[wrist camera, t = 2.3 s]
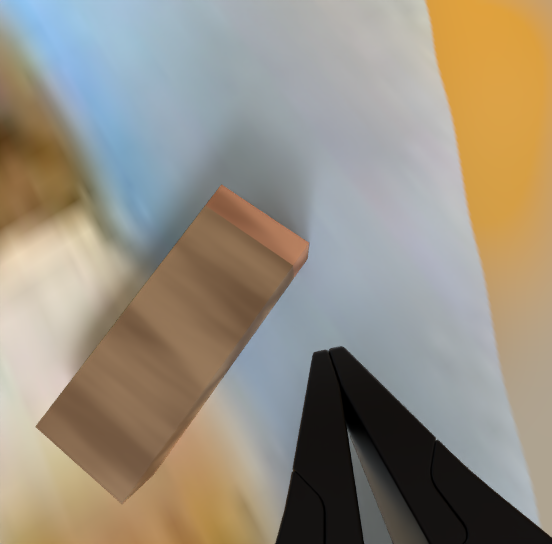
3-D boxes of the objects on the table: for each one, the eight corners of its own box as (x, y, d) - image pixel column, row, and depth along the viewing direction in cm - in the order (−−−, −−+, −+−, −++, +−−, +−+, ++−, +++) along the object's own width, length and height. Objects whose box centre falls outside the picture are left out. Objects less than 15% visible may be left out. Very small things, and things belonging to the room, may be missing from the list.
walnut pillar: (307, 259, 23) (154, 473, 21) (234, 209, 24) (82, 410, 22) (309, 243, 19) (122, 504, 17) (221, 184, 20) (35, 426, 18)
